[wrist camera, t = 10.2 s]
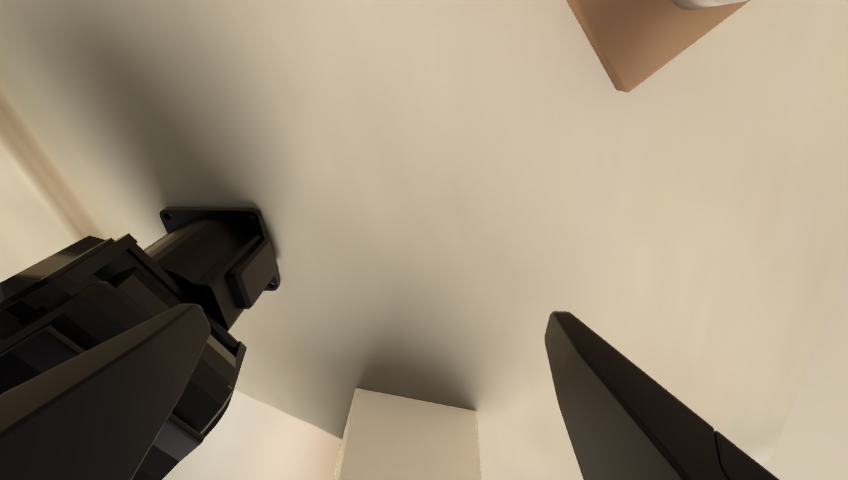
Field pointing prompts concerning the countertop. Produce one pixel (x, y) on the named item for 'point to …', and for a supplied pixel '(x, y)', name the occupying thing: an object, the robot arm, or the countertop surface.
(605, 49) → the carrier board
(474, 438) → the milk
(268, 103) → the countertop surface
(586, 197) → the countertop surface
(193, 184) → the countertop surface
